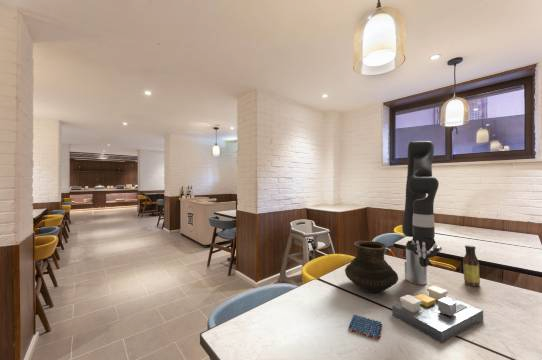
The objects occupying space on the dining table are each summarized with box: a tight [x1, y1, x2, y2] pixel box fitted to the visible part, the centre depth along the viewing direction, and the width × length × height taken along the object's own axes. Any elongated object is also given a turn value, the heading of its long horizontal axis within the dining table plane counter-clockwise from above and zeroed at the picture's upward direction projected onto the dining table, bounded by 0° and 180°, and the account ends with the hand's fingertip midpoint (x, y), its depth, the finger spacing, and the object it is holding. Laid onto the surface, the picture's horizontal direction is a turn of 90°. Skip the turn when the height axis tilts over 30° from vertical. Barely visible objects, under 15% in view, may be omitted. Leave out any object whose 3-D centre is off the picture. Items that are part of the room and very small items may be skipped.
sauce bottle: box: [462, 244, 481, 287], centre depth 119 cm, size 7×6×20 cm
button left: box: [399, 294, 422, 313], centre depth 90 cm, size 5×5×6 cm
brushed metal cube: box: [438, 298, 456, 316], centre depth 86 cm, size 4×4×4 cm
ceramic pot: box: [344, 240, 399, 294], centre depth 114 cm, size 24×24×22 cm
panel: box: [391, 291, 484, 344], centre depth 90 cm, size 18×28×4 cm, turn 116°
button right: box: [426, 285, 449, 300], centre depth 98 cm, size 5×5×6 cm
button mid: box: [413, 293, 436, 307], centre depth 94 cm, size 5×5×6 cm
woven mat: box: [347, 314, 383, 341], centre depth 84 cm, size 10×11×2 cm
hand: (423, 266), depth 94 cm, fingers closed
